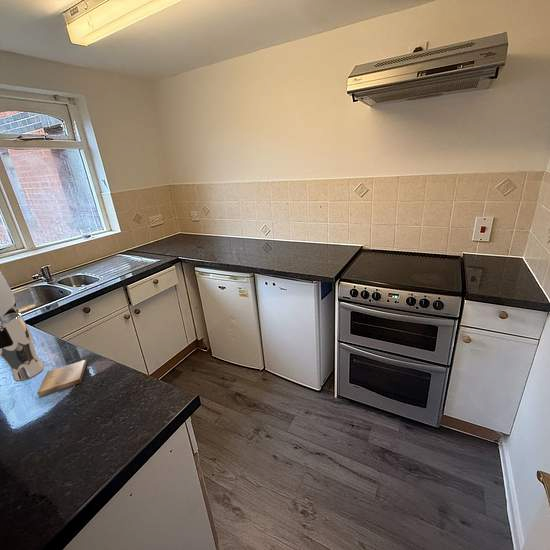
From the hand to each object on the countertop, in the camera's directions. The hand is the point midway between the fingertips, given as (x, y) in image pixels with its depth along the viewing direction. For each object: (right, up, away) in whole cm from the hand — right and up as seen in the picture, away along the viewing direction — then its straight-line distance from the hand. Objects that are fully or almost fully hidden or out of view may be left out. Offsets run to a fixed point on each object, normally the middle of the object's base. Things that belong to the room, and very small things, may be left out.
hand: (11, 337), depth 69 cm
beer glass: (+1, -10, +4) cm, 10 cm away
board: (-5, -18, +25) cm, 32 cm away
